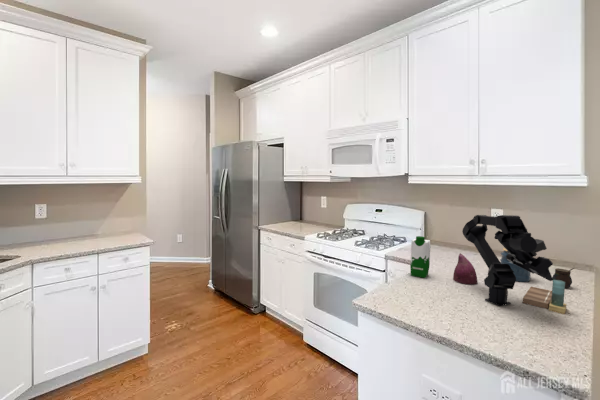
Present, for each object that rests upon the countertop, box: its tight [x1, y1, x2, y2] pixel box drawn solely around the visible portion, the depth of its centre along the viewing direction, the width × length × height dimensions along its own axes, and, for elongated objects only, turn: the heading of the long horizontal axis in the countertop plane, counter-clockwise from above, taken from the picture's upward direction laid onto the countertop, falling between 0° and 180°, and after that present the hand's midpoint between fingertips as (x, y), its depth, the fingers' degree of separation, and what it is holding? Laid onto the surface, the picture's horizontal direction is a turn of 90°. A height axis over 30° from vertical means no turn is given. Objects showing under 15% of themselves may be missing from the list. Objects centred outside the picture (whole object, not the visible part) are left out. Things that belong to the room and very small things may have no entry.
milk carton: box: [409, 235, 431, 279], centre depth 158 cm, size 9×9×20 cm
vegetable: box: [452, 252, 478, 286], centre depth 151 cm, size 10×10×15 cm
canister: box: [499, 247, 531, 283], centre depth 157 cm, size 13×13×18 cm
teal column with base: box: [548, 280, 567, 315], centre depth 119 cm, size 7×5×11 cm, turn 136°
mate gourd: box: [551, 267, 575, 289], centre depth 146 cm, size 7×8×10 cm
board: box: [522, 286, 552, 310], centre depth 129 cm, size 20×8×2 cm, turn 136°
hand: (542, 276), depth 119 cm, fingers open, 9 cm apart
